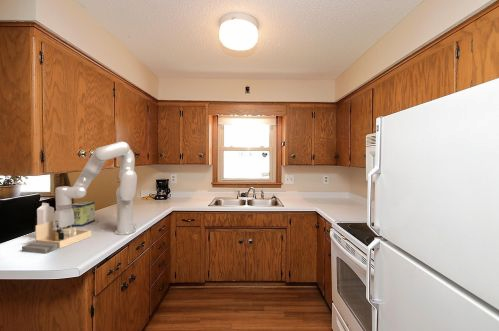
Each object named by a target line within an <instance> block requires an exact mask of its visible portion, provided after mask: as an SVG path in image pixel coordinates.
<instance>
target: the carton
mask: <svg viewBox="0 0 499 331" xmlns="http://www.w3.org/2000/svg"><path fill="white" fill-rule="evenodd" d="M53 227H54V226H53V221H52V222H48V223H44V224H40V225H37V224H36V225H35V240H36V243H47V244H57V250H58V249H59V250H60V249H62V248H64V247H67V246H70V245H73V244H75V243H77V242H81V241H83V240H85V239H88V238H91V237H92V230H85V229H84V230H83V229H76V236H73V237H70V238H68V239H65V240H62V241H55V231H54V230H52V229H53ZM57 229H58V227H57Z"/></svg>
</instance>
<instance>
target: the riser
mask: <svg viewBox="0 0 499 331" xmlns="http://www.w3.org/2000/svg"><path fill="white" fill-rule="evenodd" d="M57 250H58V249H57V244H47V243H37V242H32V243H28V244H26V245H23V246H21V252H23V253H32V254H42V255H46V254H48V253H52V252H54V251H57Z"/></svg>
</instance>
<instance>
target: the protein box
mask: <svg viewBox="0 0 499 331" xmlns="http://www.w3.org/2000/svg"><path fill="white" fill-rule="evenodd" d="M72 205H73V206H72V209H73V213H74V221H75V222H76V224H75V225H74V227H80V228H81V227H84V226H86V225H89V224H92V223H94V222H95V221H96V209H95V208H96V206H95V205H96V204H95V201H78V202H75V203H72Z"/></svg>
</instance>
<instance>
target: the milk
mask: <svg viewBox="0 0 499 331" xmlns="http://www.w3.org/2000/svg"><path fill="white" fill-rule="evenodd" d="M54 213H55V208H54V207H53V206H50V203H49V202H48V203H47V202H42V203H41V206H39V207H38V208H37V209H36V216H37V217H36V221H37V222H36V223H37V224H36V225H40V224H44V223H48V222H52V221H53V220H54Z"/></svg>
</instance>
